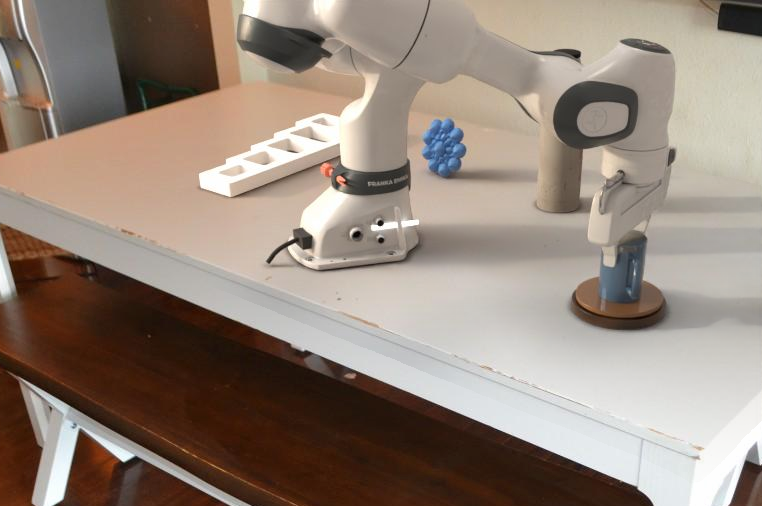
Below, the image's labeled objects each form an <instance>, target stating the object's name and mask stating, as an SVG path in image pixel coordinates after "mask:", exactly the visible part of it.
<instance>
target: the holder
mask: <svg viewBox="0 0 762 506" xmlns="http://www.w3.org/2000/svg"><path fill="white" fill-rule="evenodd" d="M339 118H340V116H337V115H332V114H329V113H324V112H321V113H318V114H315V115H313V116H309V117H306V118H304V119H301V120H300V119H299V120H297V121H295V126H292V127H289V128H286V129H284V130H280V131H277V132H274V133H273V138H270V139H268V140H264V141H262V142H259V143H255V144H253V145H250V150H248V151H246V152H243V153H240V154H237V155H234V156H231V157H228V158H226V159H225V164H222V165H219V166H217V167H214V168H212V169H207V170H205V171H203V172H200V173H199V174H198V177H199V184H200V188H201V189H203V190H207V191H210V192H214V193H217V194H219V195H222V196H226V197H229V198H233V197H235V196H238V195H241V194H243V193H246V192H249V191H251V190H254V189H256V188H259V187H262V186H265V185H267V184H269V183H273V182H275V181H279V180H280V179H283V178H286V177H288V176H290V175H293V174H296V173H299V172H301V171H304V170H306V169H308V168H309V169H310V168H312V167H314V166H317V165H319V164H322V163H325V162H327V161H330V160H332V159H335V158H338V157H341V153H340V136H339Z"/></svg>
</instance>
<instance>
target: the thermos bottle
mask: <svg viewBox="0 0 762 506" xmlns="http://www.w3.org/2000/svg"><path fill="white" fill-rule="evenodd" d="M553 51H558V52H564V53H567V54H569V55H571V56H573V57H574V58H576V59H577V60H578V61H579V62H580V63H581V64H582V60H581V57H582V52H581V51H580V50H578V49H574V48H558V49H554V50H553ZM538 146H539V150H538V152H539V153H538V157H539V158H538V170H537V187H536V189H537V190H536V207H538V208H539V209H540V210H542V211H545V212H549V213H555V214H556V213H557V214H558V213H561V214H563V213H569V212H573V211H575V210H577V209H578V208H579V207H580V198H581V187H582V172H583V171H582V170H583V160H584V156H583V155H584V149H575V148H572V147H569V146H567V145H565V144H564V143H562V142H561V141H559V140H558V139H557V138H556V137H555V136H553V135H552V134H551V133H550V132H549V131H548V130H546V129H545V128H544V127H543V126H542V125H541V124H540V128H539V145H538Z"/></svg>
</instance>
